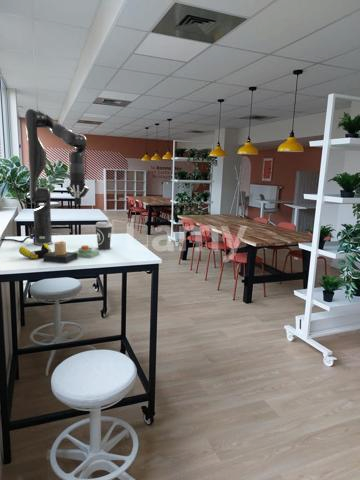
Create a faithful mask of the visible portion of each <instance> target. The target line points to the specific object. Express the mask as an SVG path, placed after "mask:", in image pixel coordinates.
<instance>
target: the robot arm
mask: <svg viewBox="0 0 360 480" xmlns="http://www.w3.org/2000/svg"><path fill="white" fill-rule="evenodd" d="M24 123H25V129H26V137H27V147H28V149H27V150H28V151H27V154H28V169H29V200H30V202H31V203H32V204H43V205H42V206H40V207H38V208H35V209H34V210H33V227H32V234H29V235H28V236H26V237H25V238H24V239H23V240H18V239H15V238H14V239H13V238H0V239H1V240H0V241H10V242H13V241H14V242H17V243H24V242H26V241H27V239H30V240H32V241H33V244H34V245H36V246H42V244H44V243H45V244H47V245H48V246H49V245H51V244H53V240H52V238H53V237H52V216H51V190H50V188H49V187H47V186H37V183H38V180H39V178H40V176H41V174H42V172H43V171H44V170H45V168H46V166H47V151H46V149H45V147H44V145H43V143H42V142H41V139H40V138H39V133H38V128H39V129H46V130H48V131H50V132H51V133H52V134H53V135H54V136H55V137H56V138H58V139H60V140H61V141H63V142H64V144H66V145H67V146H69V147H73V148H74V149H75V150H74V151H71V152H70V153H69V181H70V182H69V186H66V188H65V189H66V190H67V192H68V193H69V195H70V196H71V197H72V198H74V204H75V205H76V206H81V204H82V198H85V196H86V195H87V194H88V192H89V190H90V187H87V186H86V182H85V181H86V175H85V173H86V170H85V153H86V148H87V143H88V141H87V138H86V136H85V134H83V133H79V132H73V131H72V130H71V128H69V127H67V126H65V125H64V124H62V123H60V122H58V121H56V120H55V119H54V118H52V117H51V116H50V115H49V114H47V113H46V112H45V111H42V110H38V109H33V108H28V109H27V110H25V114H24Z"/></svg>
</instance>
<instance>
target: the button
mask: <svg viewBox="0 0 360 480" xmlns="http://www.w3.org/2000/svg"><path fill="white" fill-rule="evenodd" d="M80 248H81V249H83V250H86V249H89V248H90V247H89V245H86V244H85V245H81V247H80Z"/></svg>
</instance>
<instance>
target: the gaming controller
mask: <svg viewBox="0 0 360 480" xmlns="http://www.w3.org/2000/svg"><path fill="white" fill-rule="evenodd" d="M18 252H19V254H20V255H22V256H23V257H26V258H28V259H29V260H35V259H41V258H43V255H45V254H48V253H51V252H52V249H51V248H50V246H49V244H48V245H47V244H45V243H44V244H42V245H41V248H40V249H38V250H32V251H30V250H29V249H27V248H26V247H25V246H20V247H19V248H18Z"/></svg>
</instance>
